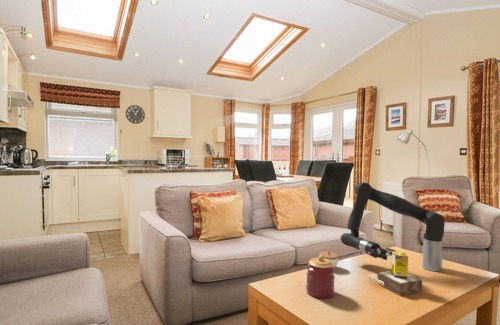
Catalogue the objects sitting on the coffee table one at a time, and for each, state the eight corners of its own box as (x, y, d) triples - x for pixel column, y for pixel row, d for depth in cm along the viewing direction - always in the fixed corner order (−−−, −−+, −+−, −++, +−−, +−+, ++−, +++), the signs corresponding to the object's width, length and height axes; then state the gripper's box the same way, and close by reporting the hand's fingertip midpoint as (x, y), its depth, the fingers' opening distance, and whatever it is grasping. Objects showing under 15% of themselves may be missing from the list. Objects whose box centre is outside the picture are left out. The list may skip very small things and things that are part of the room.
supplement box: (407, 278, 145) (408, 256, 144) (394, 277, 146) (395, 255, 146) (403, 273, 150) (404, 252, 150) (391, 272, 152) (391, 251, 151)
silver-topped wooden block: (397, 280, 157) (398, 268, 157) (421, 291, 144) (422, 279, 144) (377, 283, 152) (377, 272, 152) (400, 296, 139) (400, 283, 139)
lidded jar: (323, 263, 180) (323, 247, 180) (340, 267, 174) (341, 251, 173) (315, 268, 171) (316, 251, 171) (334, 272, 165) (334, 256, 165)
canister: (300, 288, 144) (301, 252, 144) (322, 284, 149) (323, 249, 149) (316, 301, 132) (318, 262, 132) (340, 296, 137) (341, 258, 137)
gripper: (359, 242, 164) (382, 251, 149) (379, 240, 169) (403, 248, 154) (359, 255, 164) (382, 266, 149) (379, 253, 170) (403, 263, 154)
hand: (393, 257), depth 152 cm, fingers open, 8 cm apart
